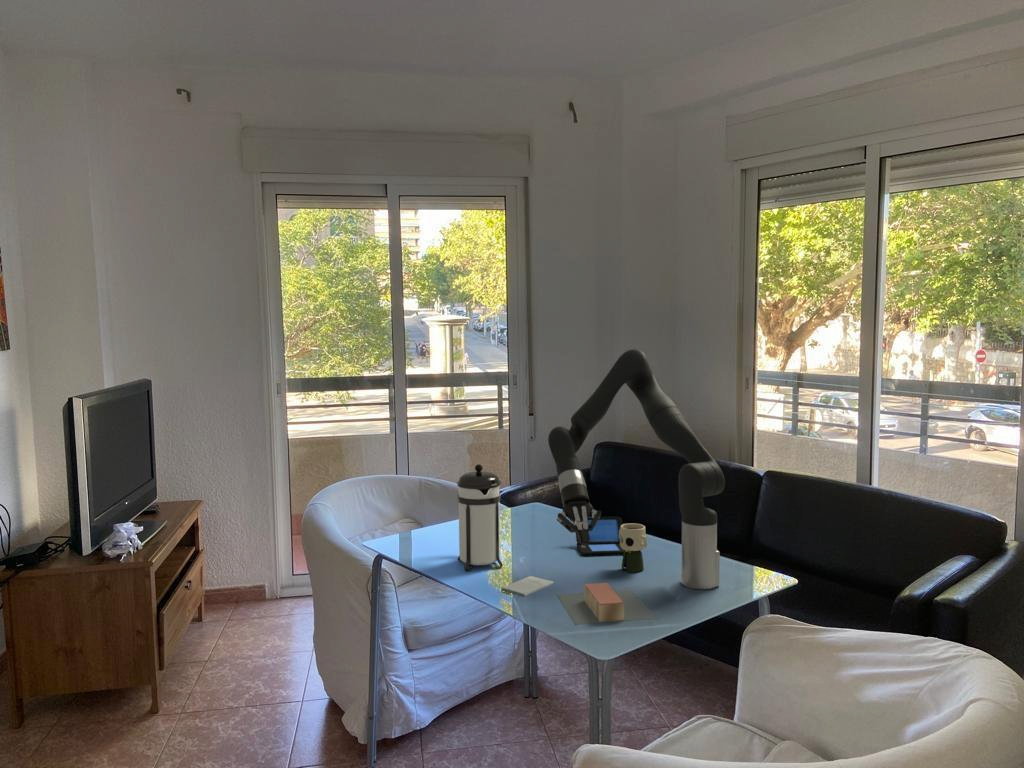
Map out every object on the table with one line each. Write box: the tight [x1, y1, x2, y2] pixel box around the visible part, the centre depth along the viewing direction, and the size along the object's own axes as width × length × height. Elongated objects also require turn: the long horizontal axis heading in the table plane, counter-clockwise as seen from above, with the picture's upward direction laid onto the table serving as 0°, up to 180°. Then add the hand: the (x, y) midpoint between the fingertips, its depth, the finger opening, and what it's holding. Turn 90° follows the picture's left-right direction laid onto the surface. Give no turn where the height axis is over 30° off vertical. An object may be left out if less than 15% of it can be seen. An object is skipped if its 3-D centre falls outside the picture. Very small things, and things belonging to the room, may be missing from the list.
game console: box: [575, 516, 625, 557], centre depth 233 cm, size 16×14×9 cm
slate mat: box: [556, 589, 658, 625], centre depth 184 cm, size 20×20×1 cm
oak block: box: [583, 582, 624, 623], centre depth 182 cm, size 6×4×14 cm
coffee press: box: [456, 463, 504, 572], centre depth 219 cm, size 17×16×30 cm
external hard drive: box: [500, 575, 554, 597], centre depth 199 cm, size 2×8×12 cm
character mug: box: [619, 523, 648, 573], centre depth 212 cm, size 11×7×13 cm, turn 35°
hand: (585, 544), depth 200 cm, fingers closed
